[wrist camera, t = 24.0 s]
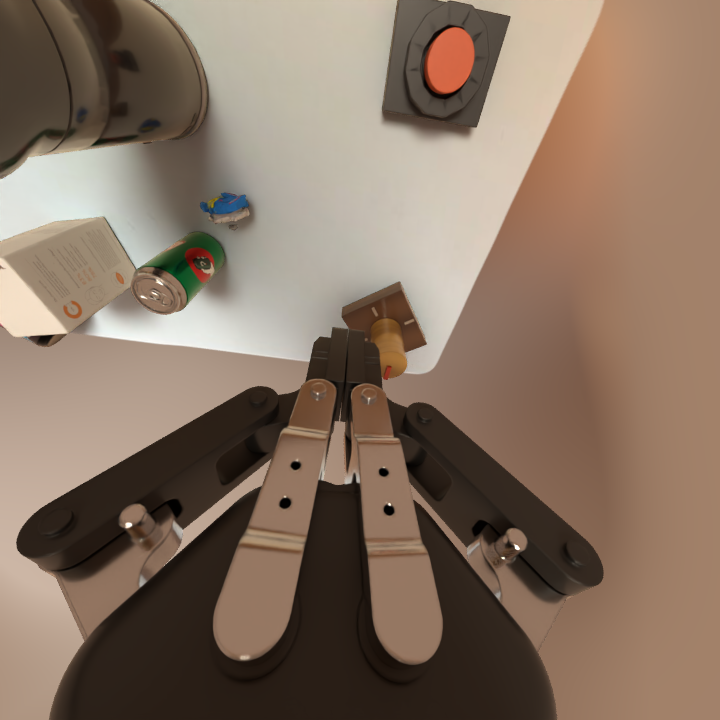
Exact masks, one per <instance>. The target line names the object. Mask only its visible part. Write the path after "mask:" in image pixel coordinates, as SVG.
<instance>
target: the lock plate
mask: <svg viewBox="0 0 720 720" xmlns="http://www.w3.org/2000/svg"><path fill="white" fill-rule="evenodd" d="M342 318H343V320H344V321H345V323H346V324H347V326H348V328H349V329H353V330H361V331H365V342H371V337H370V330H371V327H372V325H373V324H374V323H375V322H376V321H378V320H380V319H385V318H388V319H393V320H395V321H396V322H397V323H398V324H399V325H400V327H401V332H402V337H403V343H404V348H405V353H406V352H408V351H411V350H414V349H416V348H419V347H421V346H424V345H427V343H426V339H425V336H424V333H423V331H422V329H421V327H420V324H419V322H418V320H417V318H416V316H415V313H414V311H413V309H412V307H411V305H410V302H409V300H408V298H407V296H406V294H405V291H404V289H403V287H402V285H401V282H397V283H395V284H393V285H391V286H389V287H386V288H384V289H382V290H380V291H378V292H375V293H373V294H371V295H369V296H367V297H365V298H362V299H360V300H358V301H356V302H354V303H351V304H349V305H347V306H345V307H343V308H342Z"/></svg>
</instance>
